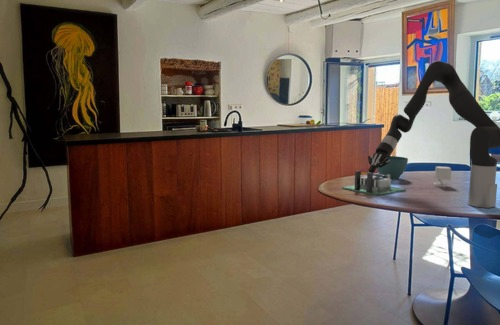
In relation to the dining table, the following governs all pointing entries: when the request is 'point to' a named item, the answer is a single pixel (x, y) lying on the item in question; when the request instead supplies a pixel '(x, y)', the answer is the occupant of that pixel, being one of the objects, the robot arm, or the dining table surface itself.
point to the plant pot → (394, 167)
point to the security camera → (442, 175)
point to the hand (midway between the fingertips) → (370, 172)
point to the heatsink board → (373, 185)
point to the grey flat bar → (375, 174)
